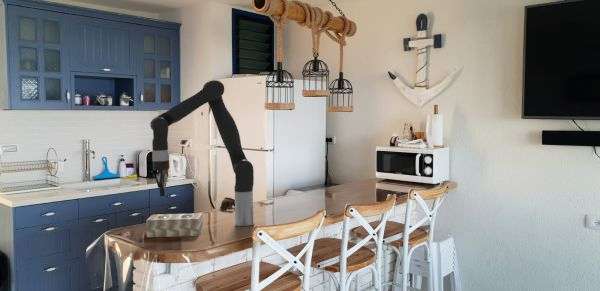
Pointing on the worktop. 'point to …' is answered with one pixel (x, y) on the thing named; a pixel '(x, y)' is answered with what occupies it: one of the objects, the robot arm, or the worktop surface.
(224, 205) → the pottery mug
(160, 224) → the ash socket block
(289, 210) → the worktop surface
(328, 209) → the worktop surface
